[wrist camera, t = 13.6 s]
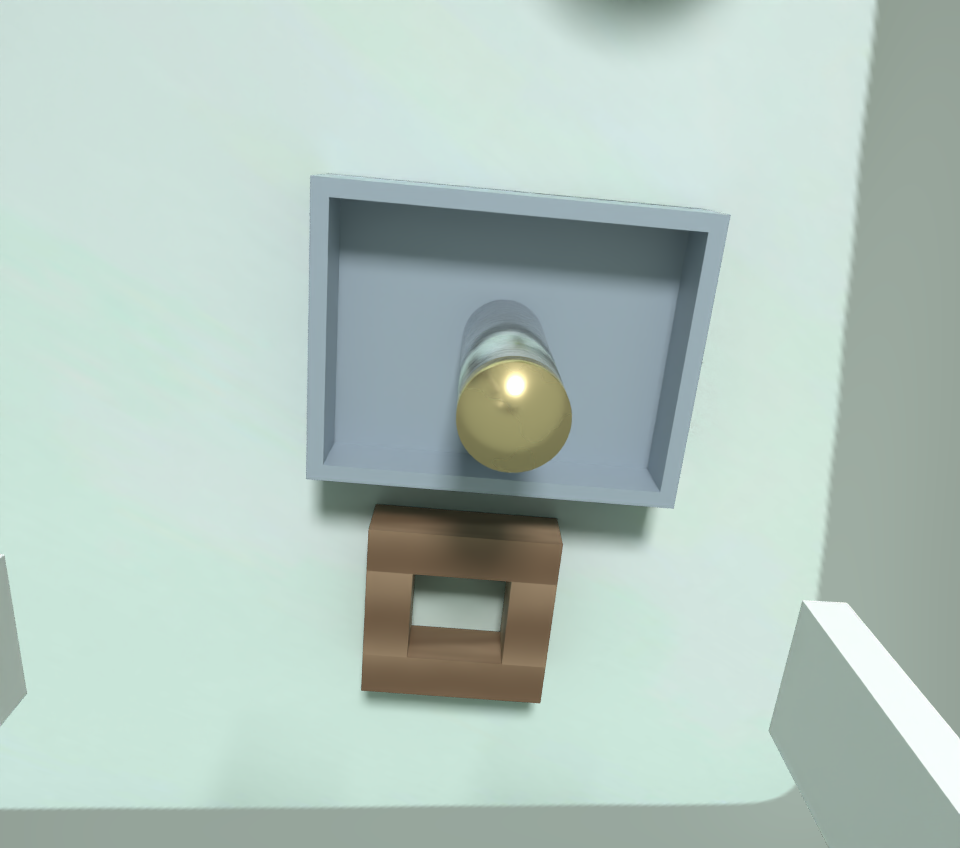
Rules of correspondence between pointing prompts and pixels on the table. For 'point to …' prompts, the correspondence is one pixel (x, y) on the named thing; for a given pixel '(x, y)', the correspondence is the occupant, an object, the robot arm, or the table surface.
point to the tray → (504, 276)
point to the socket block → (461, 554)
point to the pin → (510, 390)
